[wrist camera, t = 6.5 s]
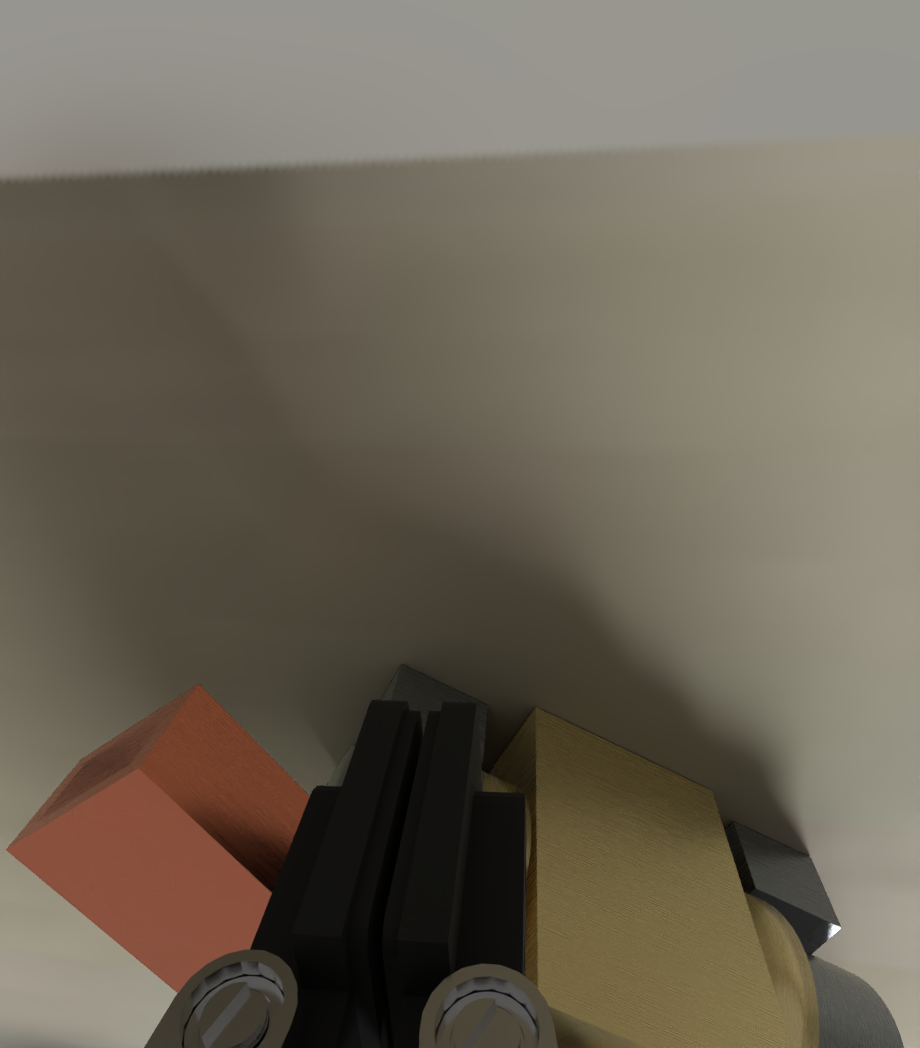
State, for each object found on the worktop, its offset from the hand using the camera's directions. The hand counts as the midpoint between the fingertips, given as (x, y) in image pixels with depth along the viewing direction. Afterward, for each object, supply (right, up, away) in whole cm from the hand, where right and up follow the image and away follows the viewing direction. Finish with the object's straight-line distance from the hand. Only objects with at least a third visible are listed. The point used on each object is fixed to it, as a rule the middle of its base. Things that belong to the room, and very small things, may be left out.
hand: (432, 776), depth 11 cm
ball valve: (+4, -6, +12) cm, 14 cm away
